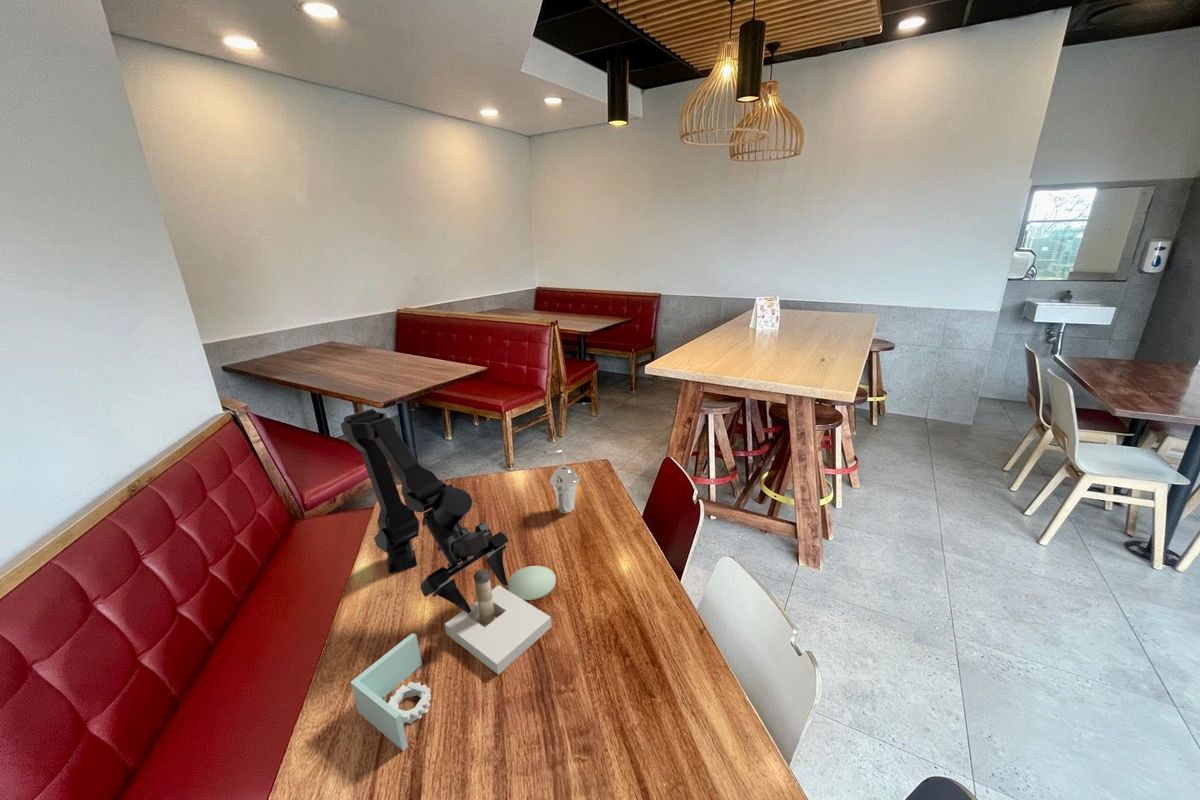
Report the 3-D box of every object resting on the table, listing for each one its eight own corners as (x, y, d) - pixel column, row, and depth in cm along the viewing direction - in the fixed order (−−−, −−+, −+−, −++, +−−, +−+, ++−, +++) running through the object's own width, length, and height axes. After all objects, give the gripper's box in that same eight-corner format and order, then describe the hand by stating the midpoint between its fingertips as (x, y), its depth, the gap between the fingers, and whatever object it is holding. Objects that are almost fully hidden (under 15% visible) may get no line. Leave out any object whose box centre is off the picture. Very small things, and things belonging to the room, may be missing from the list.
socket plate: (446, 633, 95) (444, 624, 95) (499, 594, 106) (498, 584, 105) (498, 674, 86) (497, 664, 85) (551, 626, 96) (550, 616, 95)
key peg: (472, 624, 98) (465, 576, 94) (489, 611, 101) (483, 564, 97) (486, 634, 95) (479, 585, 91) (503, 620, 98) (497, 572, 94)
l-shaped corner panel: (403, 753, 74) (395, 718, 71) (359, 715, 80) (350, 682, 77) (462, 693, 83) (457, 660, 81) (418, 663, 89) (412, 632, 87)
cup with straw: (580, 518, 134) (577, 453, 128) (548, 518, 134) (543, 454, 128) (581, 502, 142) (578, 441, 136) (551, 502, 142) (547, 441, 136)
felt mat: (502, 576, 111) (501, 575, 111) (545, 562, 116) (545, 560, 116) (516, 606, 102) (515, 604, 102) (563, 589, 106) (563, 587, 106)
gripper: (419, 541, 86) (464, 616, 83) (498, 498, 100) (539, 561, 97) (403, 561, 93) (443, 631, 90) (479, 518, 107) (517, 578, 104)
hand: (488, 598), depth 95 cm, fingers open, 9 cm apart
